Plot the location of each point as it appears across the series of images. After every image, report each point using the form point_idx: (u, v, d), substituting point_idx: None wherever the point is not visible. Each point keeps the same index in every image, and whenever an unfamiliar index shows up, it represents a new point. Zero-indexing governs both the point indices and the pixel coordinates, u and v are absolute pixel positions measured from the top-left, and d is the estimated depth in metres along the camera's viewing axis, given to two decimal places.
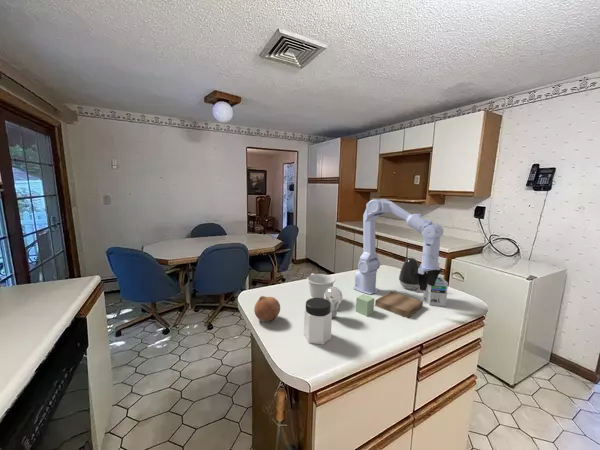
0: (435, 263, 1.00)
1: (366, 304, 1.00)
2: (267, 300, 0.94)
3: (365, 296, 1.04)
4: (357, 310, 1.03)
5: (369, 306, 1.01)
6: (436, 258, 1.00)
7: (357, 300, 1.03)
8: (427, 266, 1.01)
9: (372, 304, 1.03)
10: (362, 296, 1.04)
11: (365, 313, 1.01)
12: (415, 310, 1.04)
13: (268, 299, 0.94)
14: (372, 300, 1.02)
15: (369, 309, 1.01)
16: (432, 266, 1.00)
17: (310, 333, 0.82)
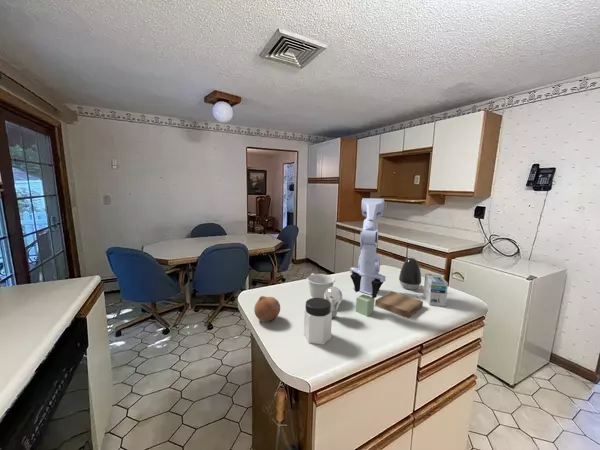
0: (361, 268, 1.00)
1: (366, 304, 1.00)
2: (267, 300, 0.94)
3: (365, 296, 1.04)
4: (357, 310, 1.03)
5: (369, 306, 1.01)
6: (362, 263, 1.00)
7: (357, 300, 1.03)
8: None
9: (372, 304, 1.03)
10: (362, 296, 1.04)
11: (365, 313, 1.01)
12: (415, 310, 1.04)
13: (268, 299, 0.94)
14: (372, 300, 1.02)
15: (369, 309, 1.01)
16: (359, 270, 1.02)
17: (310, 333, 0.82)
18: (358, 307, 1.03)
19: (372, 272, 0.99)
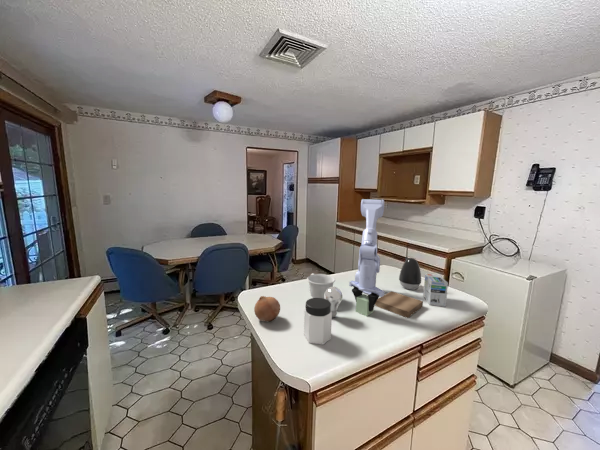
0: (360, 282, 1.01)
1: (366, 304, 1.00)
2: (267, 300, 0.94)
3: (365, 296, 1.04)
4: (357, 310, 1.03)
5: None
6: (361, 278, 1.01)
7: (357, 300, 1.03)
8: None
9: None
10: (362, 296, 1.04)
11: (365, 313, 1.01)
12: (415, 310, 1.04)
13: (268, 299, 0.94)
14: None
15: None
16: (359, 284, 1.02)
17: (310, 333, 0.82)
18: (358, 307, 1.03)
19: (371, 286, 1.00)
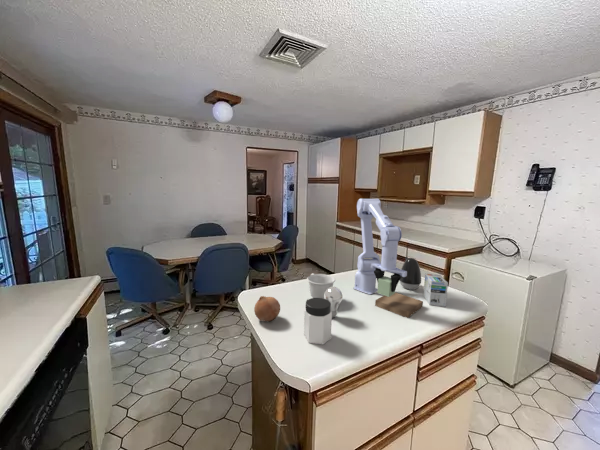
0: (382, 263, 1.03)
1: (388, 285, 1.02)
2: (267, 300, 0.94)
3: (386, 278, 1.07)
4: (379, 291, 1.06)
5: None
6: (383, 259, 1.03)
7: (379, 281, 1.05)
8: (381, 265, 1.06)
9: None
10: (384, 278, 1.06)
11: (387, 294, 1.03)
12: (415, 310, 1.04)
13: (268, 299, 0.94)
14: None
15: None
16: (381, 265, 1.05)
17: (310, 333, 0.82)
18: (380, 288, 1.05)
19: (394, 267, 1.02)
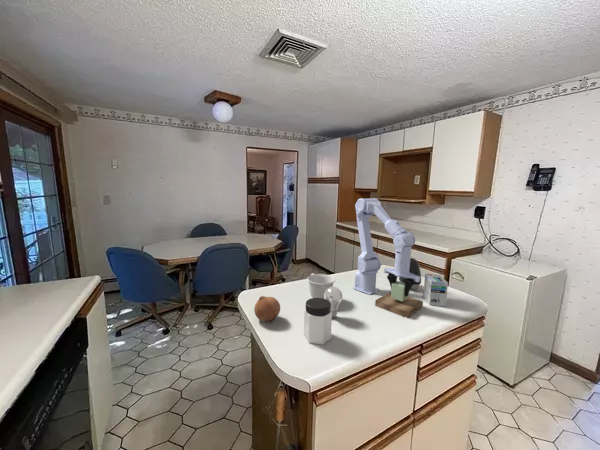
0: (396, 269, 1.06)
1: (402, 290, 1.05)
2: (267, 300, 0.94)
3: (399, 282, 1.09)
4: (392, 296, 1.08)
5: (404, 292, 1.06)
6: (397, 264, 1.05)
7: (392, 286, 1.08)
8: (394, 270, 1.09)
9: None
10: (397, 282, 1.09)
11: (401, 298, 1.06)
12: (415, 310, 1.04)
13: (268, 299, 0.94)
14: None
15: (404, 295, 1.06)
16: (394, 271, 1.07)
17: (310, 333, 0.82)
18: (393, 293, 1.08)
19: (407, 273, 1.05)
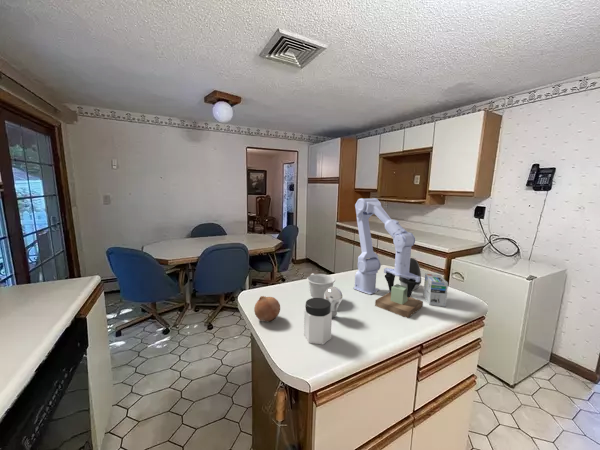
0: (396, 269, 1.06)
1: (401, 293, 1.05)
2: (267, 300, 0.94)
3: (399, 286, 1.09)
4: (392, 299, 1.08)
5: (404, 295, 1.06)
6: (397, 264, 1.05)
7: (392, 289, 1.08)
8: (394, 270, 1.09)
9: (406, 293, 1.08)
10: (396, 286, 1.09)
11: (400, 301, 1.06)
12: (415, 310, 1.04)
13: (268, 299, 0.94)
14: (407, 289, 1.07)
15: (404, 298, 1.06)
16: (394, 271, 1.07)
17: (310, 333, 0.82)
18: (393, 296, 1.08)
19: (407, 273, 1.05)
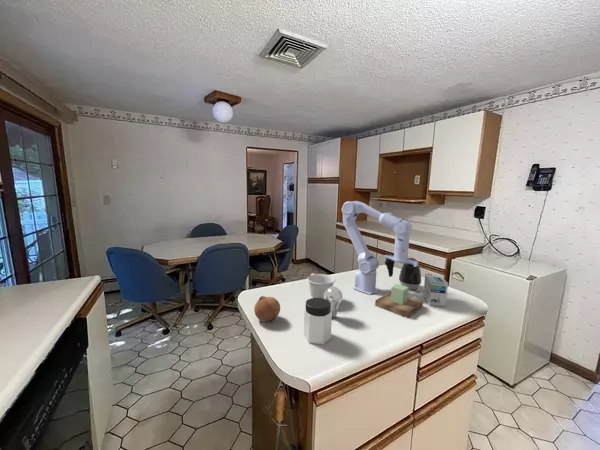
0: (395, 255, 1.13)
1: (401, 293, 1.05)
2: (267, 300, 0.94)
3: (399, 286, 1.09)
4: (392, 299, 1.08)
5: (404, 295, 1.06)
6: (396, 250, 1.12)
7: (392, 289, 1.08)
8: (393, 256, 1.16)
9: (406, 293, 1.08)
10: (396, 286, 1.09)
11: (400, 301, 1.06)
12: (415, 310, 1.04)
13: (268, 299, 0.94)
14: (407, 289, 1.07)
15: (404, 298, 1.06)
16: (394, 257, 1.14)
17: (310, 333, 0.82)
18: (393, 296, 1.08)
19: (406, 258, 1.12)
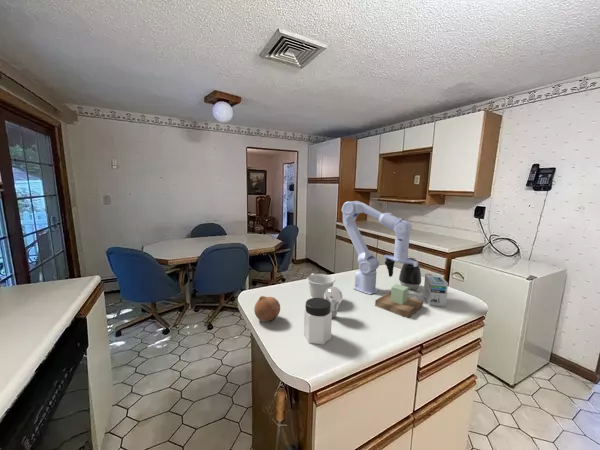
0: (395, 255, 1.13)
1: (401, 293, 1.05)
2: (267, 300, 0.94)
3: (399, 286, 1.09)
4: (392, 299, 1.08)
5: (404, 295, 1.06)
6: (396, 250, 1.12)
7: (392, 289, 1.08)
8: (393, 256, 1.16)
9: (406, 293, 1.08)
10: (396, 286, 1.09)
11: (400, 301, 1.06)
12: (415, 310, 1.04)
13: (268, 299, 0.94)
14: (407, 289, 1.07)
15: (404, 298, 1.06)
16: (394, 257, 1.14)
17: (310, 333, 0.82)
18: (393, 296, 1.08)
19: (406, 258, 1.12)
